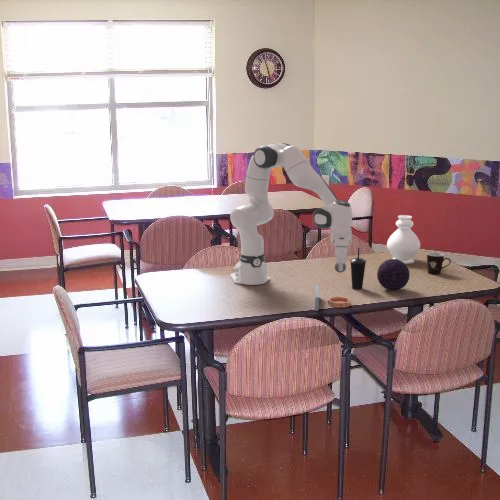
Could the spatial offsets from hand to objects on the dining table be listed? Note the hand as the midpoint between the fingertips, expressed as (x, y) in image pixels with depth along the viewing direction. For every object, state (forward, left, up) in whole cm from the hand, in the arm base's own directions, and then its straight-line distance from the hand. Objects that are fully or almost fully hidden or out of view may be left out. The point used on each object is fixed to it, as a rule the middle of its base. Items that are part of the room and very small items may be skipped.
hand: (340, 268), depth 309 cm
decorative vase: (-55, +70, -16) cm, 90 cm away
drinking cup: (-19, +20, -16) cm, 32 cm away
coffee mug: (-26, +71, -16) cm, 77 cm away
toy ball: (-10, +34, -16) cm, 39 cm away
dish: (0, 0, -16) cm, 16 cm away
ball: (0, 0, +1) cm, 1 cm away
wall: (-5, -9, -16) cm, 19 cm away
